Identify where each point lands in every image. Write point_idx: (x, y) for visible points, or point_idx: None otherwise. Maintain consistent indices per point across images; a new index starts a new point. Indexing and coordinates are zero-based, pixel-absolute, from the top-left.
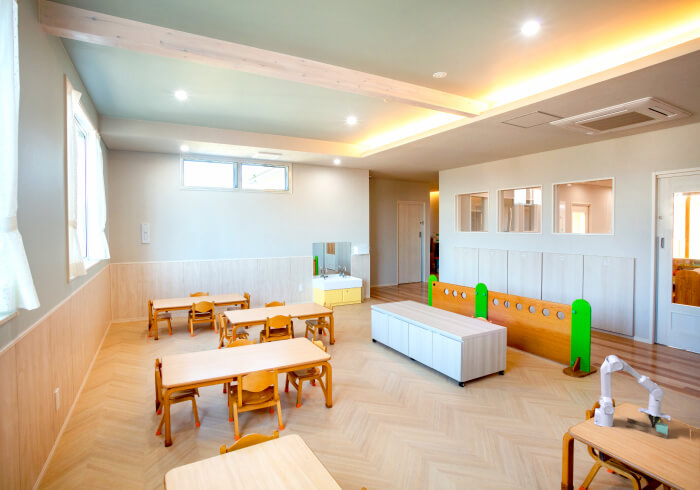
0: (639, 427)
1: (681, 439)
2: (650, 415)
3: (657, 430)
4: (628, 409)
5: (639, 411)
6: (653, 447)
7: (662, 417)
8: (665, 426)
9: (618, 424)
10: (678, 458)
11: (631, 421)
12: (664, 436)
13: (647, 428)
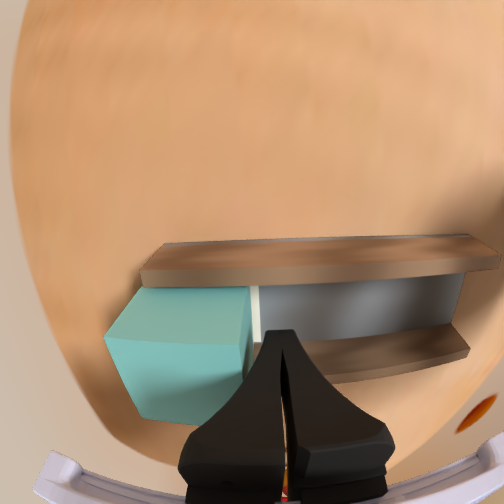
0: (411, 256)
1: (102, 341)
2: (351, 480)
3: (230, 298)
4: None
5: (501, 440)
6: (246, 2)
7: (148, 497)
8: (141, 378)
9: None
10: (78, 9)
11: (439, 342)
12: (164, 258)
13: (339, 281)
